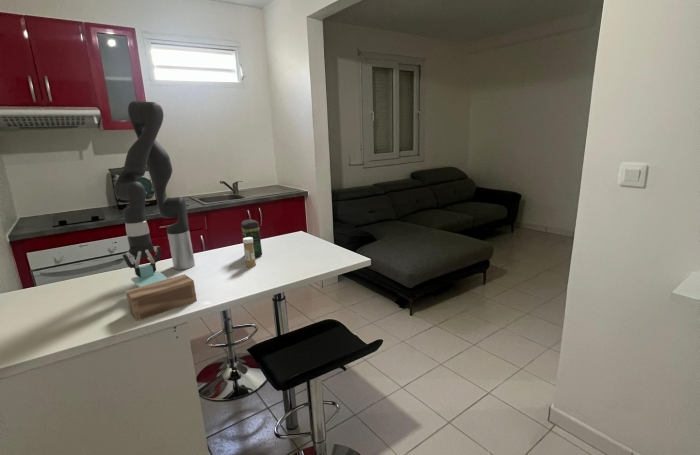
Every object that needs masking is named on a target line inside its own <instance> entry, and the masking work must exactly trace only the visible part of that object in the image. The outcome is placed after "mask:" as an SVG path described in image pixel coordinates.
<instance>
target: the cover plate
mask: <svg viewBox="0 0 700 455" xmlns="http://www.w3.org/2000/svg"><path fill="white" fill-rule="evenodd" d="M150 264H151V263H148V264H143V265H139V268H140V274H141V277H138V276H134V277H131V279H130V280H131V282H133V284H135V286H137V288H138V287H142V286H145V285H149V284H152V283H156V282H159V281H163V280H166V279H169V278H168V277H167V276H166V275H165V274H163V273H161V272H160V271H157V270H156V271H155V273H153V267H152V266H151V265H150Z"/></svg>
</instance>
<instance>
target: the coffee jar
mask: <svg viewBox="0 0 700 455" xmlns="http://www.w3.org/2000/svg"><path fill="white" fill-rule="evenodd" d="M240 227H241V232H242V239H243V238H246V237H252V238H253V247H254V254H255V259H256V258H259V257H262V255H263V249H262V242H261V232H260V224H259V222H258V221H257V220H255V219H252V218H250V219H244V220H242V221H241V224H240Z"/></svg>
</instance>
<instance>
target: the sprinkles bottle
mask: <svg viewBox="0 0 700 455" xmlns="http://www.w3.org/2000/svg"><path fill="white" fill-rule="evenodd" d="M242 244H243V249H244V257H245V266H246V267H247V268H252V267H255V266H256V265H257V263H256V258H255V254H254V247H253V238H252V237H246V238H243V237H242Z"/></svg>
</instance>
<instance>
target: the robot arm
mask: <svg viewBox="0 0 700 455" xmlns="http://www.w3.org/2000/svg"><path fill="white" fill-rule="evenodd" d="M127 112H128V113H127V114H128V118H129V120H130V123H131V125H132V128H133V130H134V133H135V134H136V137H137V140H136V141H135V142H134V143H133V144H132V145H131V146H130V148H129V149H128V151H127V153H126V157H125V159H124V160H125V161H124V165H123V169H122V171H121V172H120V174H119V175H118V177H117V180H116V182H114V183H115V184H114V188H113V190H114V195H115V196H116V197H117V198H118V199H119V200H122V201H128V202H129V204H128V206H126V207H124V208H123V210H122V213H123V217H124V218H123V219H124V223H125V232H126V238H127V242H128V247H129V250H128V251H127V252H125V253H121V257H122V258H123V260H124V262H125V263H126V265H127V267H128V268H130V269H134V274H135V275H136V277H141V274H140V268H139V266H140V265H139V264H140V262H141V260H142V259H147V260H148V261H149V264H150V265H151V266H152V267H153V273H155V272H157V267H156V263H158V262H160V261H161V253H162V247H161V246H159V245H156V246H154V245H153V244H152V239H151V234H150V228H149V225H148V222H147V218H146V213H145V212H146V211H145V207H146V199H147V197H146V196H147V190H146V188H145V186H144V185H143V183H141V182H140V181H137V180H138V179H139V178H143V177H144V175H145V174H146V169H147V170H148V174H149V176H150V180H151V182H152V187H153V189H154V194H155V198H156V202H157V207H158V211H159V213H160V214H159V215H160V216H161V217H162V218H163V219H173V218H175V219H176V218H177V219H178V221H176V222H175V223H172V224H169V225H168V226H167V227H166V233H167V239H168V243H169V249H170V250H169V251H170V254H171V261H172V266H173V269H174V270H178V271H179V270H187V269H190V268H193V267H194V266H195V264H196V262H195V258H194V251H193V244H192V239H191V233H190V227H189V219H188V211H187V210H188V209H187V208H188V207H187V203H186V200H185V198H184V197H182V196H173V197H167V196H166V189H167V186H168V183H169V181H170V179H171V177H172V174H173V166H172V163H171V162H172V161H171V158H170V155H169V154H168V152H167V151H166V149H165V148H164V147H163V146H162V145H161V144H160V143H159V141H158V140H157V136H158V133H159V131H160V129H161V127H162V124H163V121H164V111H163V108H162V106H161V105H160V104H159V103H158V102H154V101H140V100H134V101H131V102H129V104H128V108H127ZM153 250H154V253H155V254H154V257H153V255H152V252H153ZM130 255H131V256H132V257H133V263H132V262H131V260H130Z"/></svg>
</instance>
